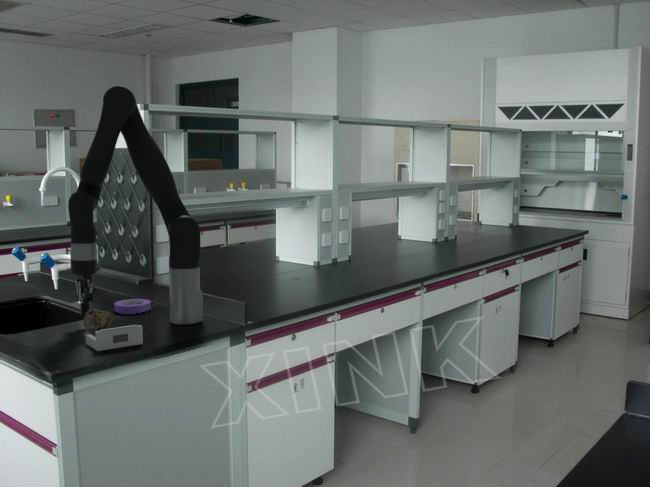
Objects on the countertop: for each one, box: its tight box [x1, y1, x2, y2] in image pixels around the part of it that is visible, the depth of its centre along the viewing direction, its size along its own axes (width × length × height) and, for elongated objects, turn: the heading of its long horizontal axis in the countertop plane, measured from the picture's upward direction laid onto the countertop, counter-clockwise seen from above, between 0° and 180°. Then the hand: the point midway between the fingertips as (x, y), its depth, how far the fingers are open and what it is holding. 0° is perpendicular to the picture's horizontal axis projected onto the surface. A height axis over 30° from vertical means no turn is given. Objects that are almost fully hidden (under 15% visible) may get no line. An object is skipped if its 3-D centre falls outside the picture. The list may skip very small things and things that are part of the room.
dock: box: [85, 324, 144, 352], centre depth 185 cm, size 12×10×5 cm
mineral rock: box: [83, 307, 115, 337], centre depth 194 cm, size 11×4×8 cm, turn 155°
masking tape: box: [113, 298, 152, 315], centre depth 224 cm, size 12×12×4 cm
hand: (84, 314), depth 203 cm, fingers closed
